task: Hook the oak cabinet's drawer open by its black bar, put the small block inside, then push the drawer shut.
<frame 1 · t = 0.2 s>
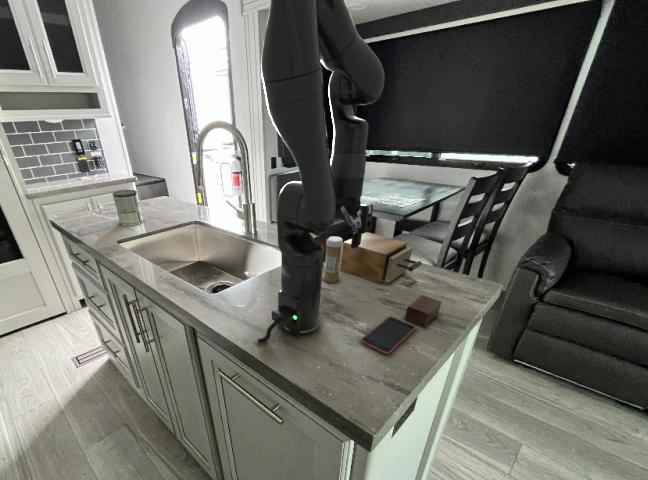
hand: (339, 243, 79), 17 cm above the worktop, tool pointing down, fingers open, 8 cm apart
sprinkles bottle: (330, 280, 100), on the worktop
cabinet: (370, 270, 106), on the worktop
block: (421, 317, 82), on the worktop
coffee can: (131, 222, 154), on the worktop
smartphone: (388, 335, 75), on the worktop
cup and saucer: (322, 255, 117), on the worktop
drawer: (387, 261, 100), point 5 cm above the worktop, slide at 1.0 cm
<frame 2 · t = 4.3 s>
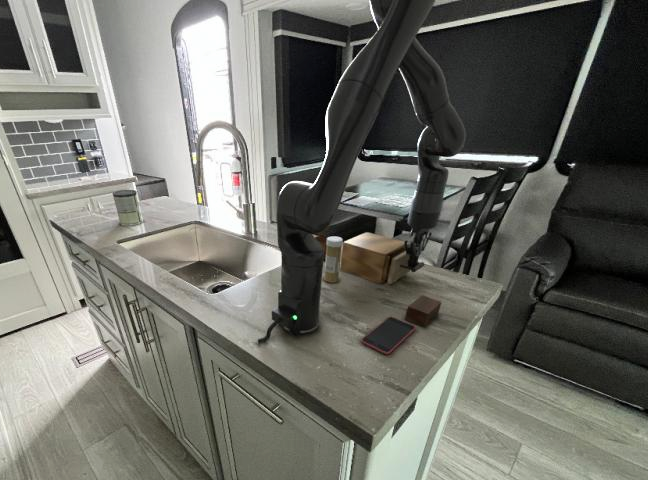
hand: (411, 266, 96), 5 cm above the worktop, tool pointing down, fingers closed
drawer: (390, 261, 100), point 5 cm above the worktop, slide at 1.9 cm, touching gripper
everything else where it was.
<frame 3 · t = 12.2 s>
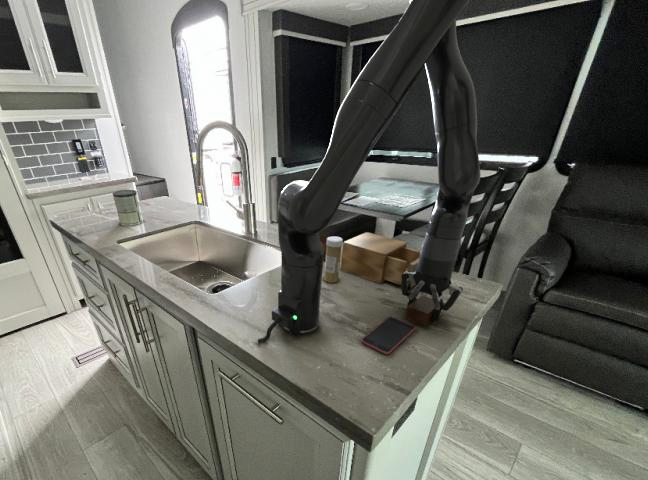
hand: (421, 315, 81), 0 cm above the worktop, tool pointing down, fingers closed on block, 5 cm apart
block: (421, 317, 82), on the worktop, touching gripper
drawer: (406, 266, 97), point 5 cm above the worktop, slide at 7.1 cm
everything else where it was.
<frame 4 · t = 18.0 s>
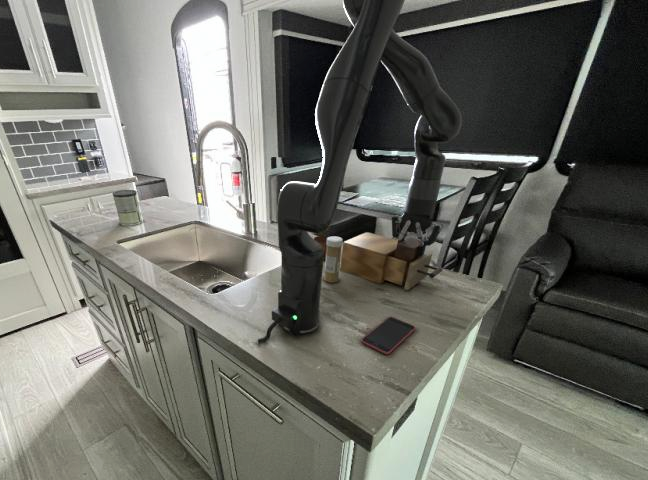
hand: (409, 254, 95), 9 cm above the worktop, tool pointing down, fingers closed on block, 5 cm apart
block: (408, 255, 95), point 8 cm above the worktop, touching gripper
everything else where it was.
when the fingers open (11 cm above the worktop, at t = 33.5 s): block drops 9 cm, resting on drawer.
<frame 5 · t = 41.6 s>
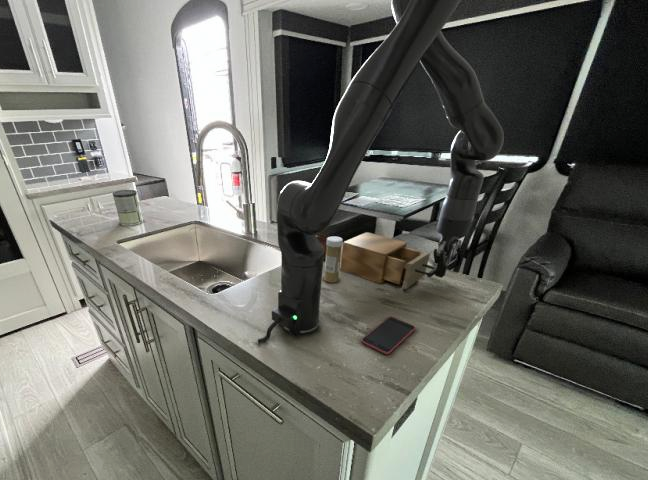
hand: (439, 276, 91), 5 cm above the worktop, tool pointing down, fingers closed
block: (402, 274, 99), point 2 cm above the worktop, touching drawer
drawer: (404, 266, 97), point 5 cm above the worktop, slide at 6.5 cm, touching block
everything else where it was.
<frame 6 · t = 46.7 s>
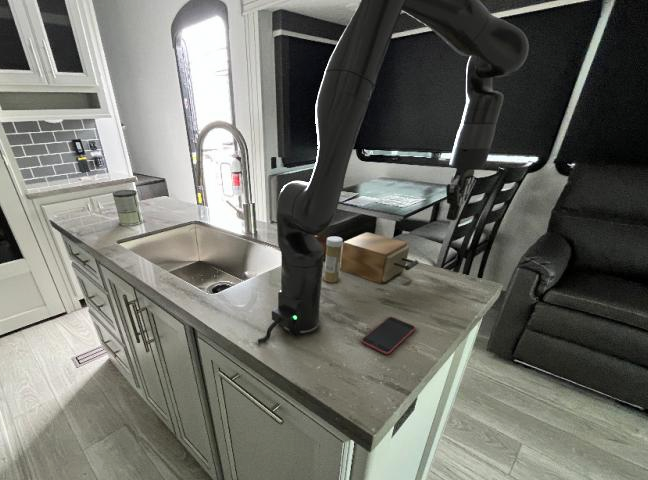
hand: (451, 219, 83), 21 cm above the worktop, tool pointing down, fingers closed
block: (382, 268, 103), point 2 cm above the worktop, touching drawer
drawer: (384, 260, 101), point 5 cm above the worktop, slide at 0.0 cm, touching block
everything else where it was.
at the end: block inside the target area in the cabinet (4.0 cm from its centre), point 2.0 cm above the cabinet's base; drawer slide at 0.0 cm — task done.
